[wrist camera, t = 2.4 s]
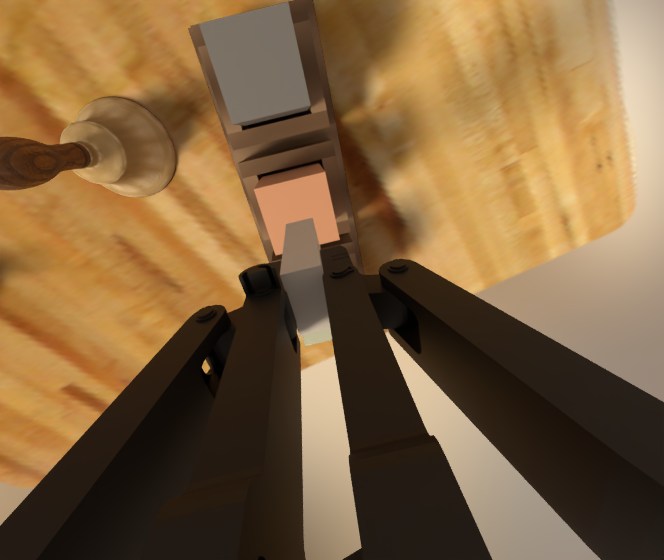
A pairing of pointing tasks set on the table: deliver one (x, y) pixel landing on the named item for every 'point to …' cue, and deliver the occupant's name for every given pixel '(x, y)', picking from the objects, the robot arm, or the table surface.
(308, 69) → the wooden base
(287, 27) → the grey square block
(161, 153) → the hand bell
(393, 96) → the table surface
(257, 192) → the terracotta button
